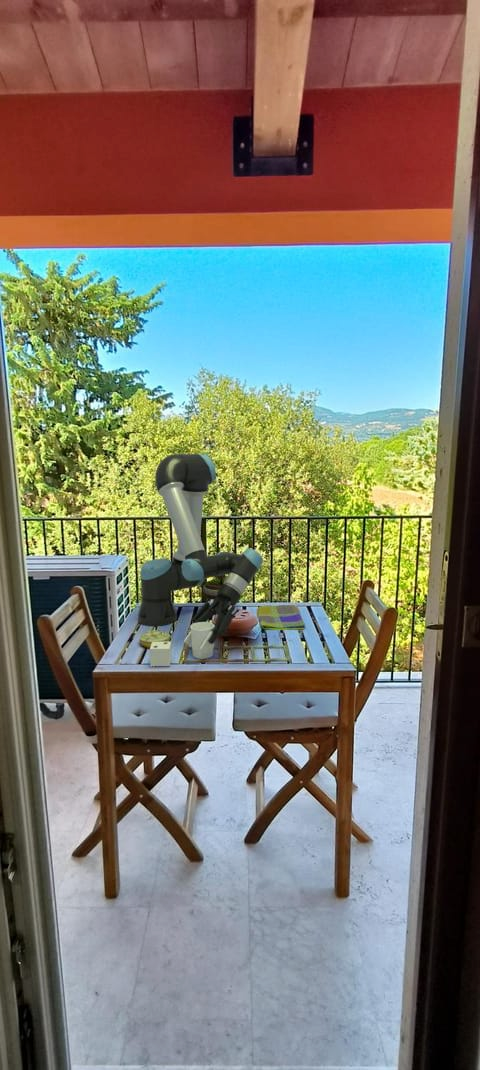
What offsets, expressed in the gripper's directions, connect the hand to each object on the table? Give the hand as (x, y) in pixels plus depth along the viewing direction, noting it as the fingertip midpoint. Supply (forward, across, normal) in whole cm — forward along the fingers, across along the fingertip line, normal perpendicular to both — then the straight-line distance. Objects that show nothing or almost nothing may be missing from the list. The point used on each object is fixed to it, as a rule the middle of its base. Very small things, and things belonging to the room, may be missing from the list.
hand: (194, 647), depth 173 cm
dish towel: (-31, +8, -37) cm, 49 cm away
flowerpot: (-24, +32, -30) cm, 50 cm away
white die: (+10, +4, +5) cm, 12 cm away
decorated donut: (+5, +19, -1) cm, 20 cm away
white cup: (0, 0, -5) cm, 5 cm away
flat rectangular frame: (-6, -7, -11) cm, 14 cm away
